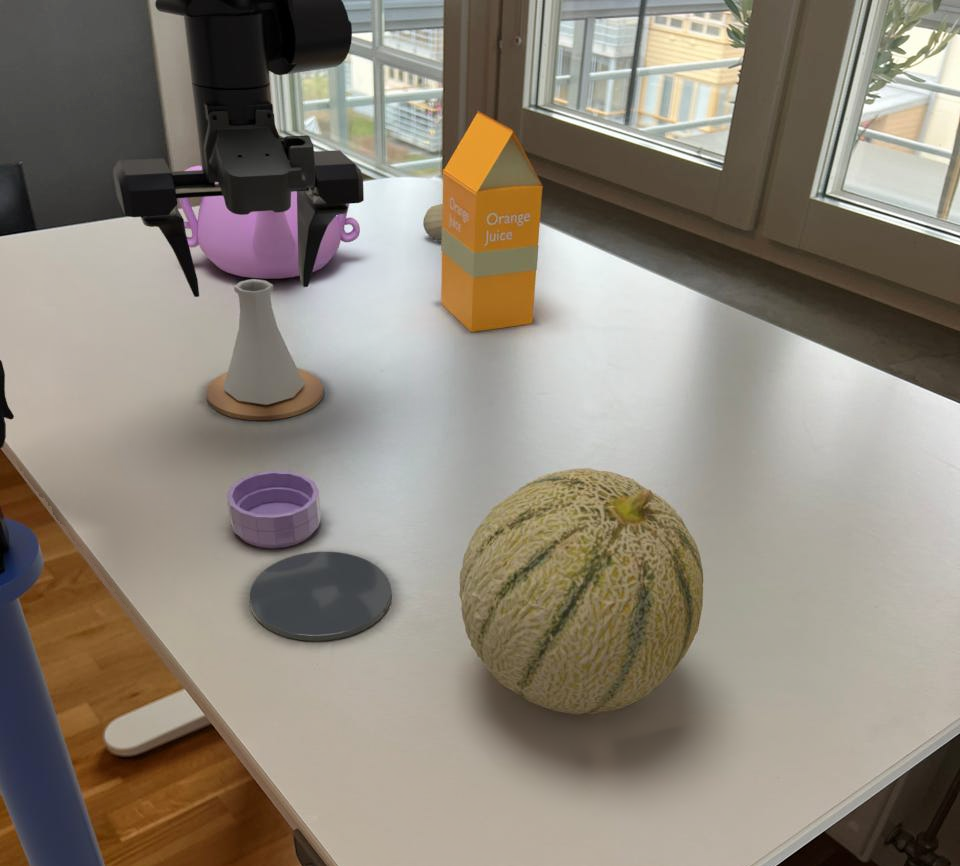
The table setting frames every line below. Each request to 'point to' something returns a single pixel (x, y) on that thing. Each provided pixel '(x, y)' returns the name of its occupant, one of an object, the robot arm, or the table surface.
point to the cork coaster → (254, 411)
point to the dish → (274, 508)
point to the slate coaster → (320, 596)
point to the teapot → (258, 238)
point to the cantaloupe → (581, 591)
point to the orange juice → (490, 229)
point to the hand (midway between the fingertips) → (251, 290)
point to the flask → (260, 351)
